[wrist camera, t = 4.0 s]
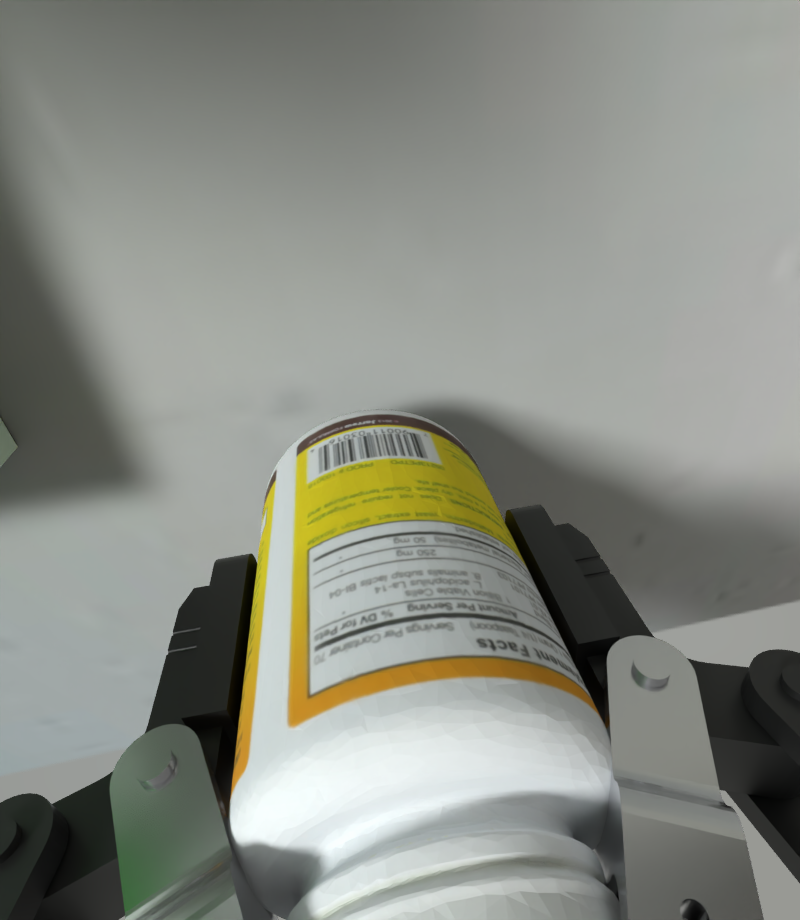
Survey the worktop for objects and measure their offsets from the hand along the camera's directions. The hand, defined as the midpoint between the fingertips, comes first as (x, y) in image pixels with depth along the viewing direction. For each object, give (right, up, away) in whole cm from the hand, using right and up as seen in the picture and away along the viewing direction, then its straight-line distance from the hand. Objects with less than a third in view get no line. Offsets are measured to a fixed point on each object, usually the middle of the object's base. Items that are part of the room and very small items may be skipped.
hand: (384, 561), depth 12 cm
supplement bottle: (0, +2, +2) cm, 3 cm away
